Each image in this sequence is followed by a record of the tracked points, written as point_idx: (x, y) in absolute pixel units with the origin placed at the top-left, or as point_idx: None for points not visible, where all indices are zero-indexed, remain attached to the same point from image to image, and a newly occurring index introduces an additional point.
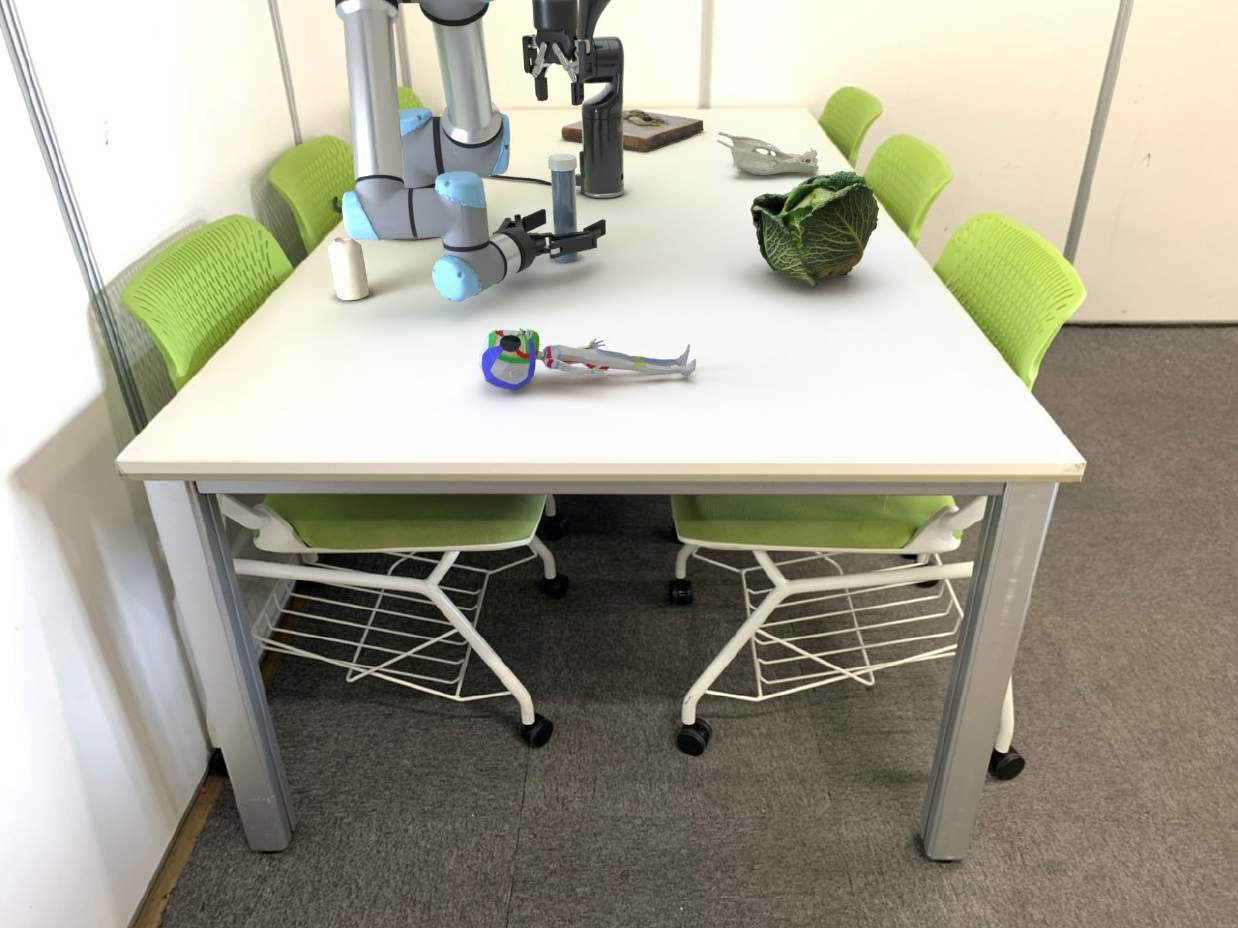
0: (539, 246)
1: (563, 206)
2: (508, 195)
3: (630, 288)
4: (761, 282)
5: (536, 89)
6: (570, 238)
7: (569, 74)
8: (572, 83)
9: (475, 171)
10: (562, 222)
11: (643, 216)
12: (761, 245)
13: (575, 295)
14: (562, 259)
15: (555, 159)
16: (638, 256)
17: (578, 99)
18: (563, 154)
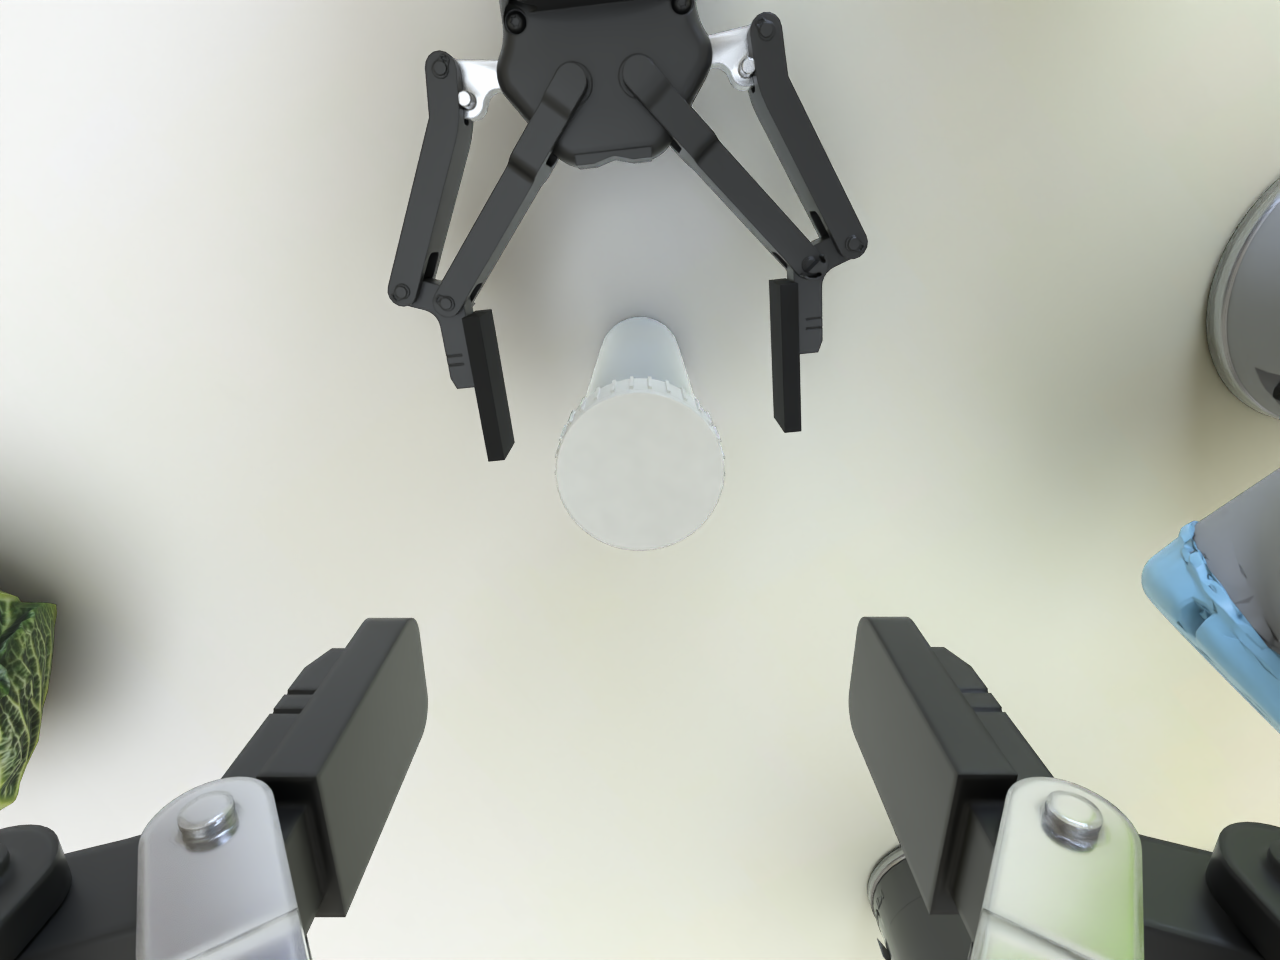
0: (502, 46)
1: (607, 361)
2: (1218, 734)
3: (274, 254)
4: (33, 528)
5: (972, 700)
6: (434, 184)
7: (268, 878)
8: (283, 773)
9: (1276, 470)
10: (616, 344)
11: (693, 786)
12: (17, 627)
13: (365, 76)
14: (627, 319)
15: (633, 405)
16: (464, 506)
17: (314, 669)
18: (674, 524)
